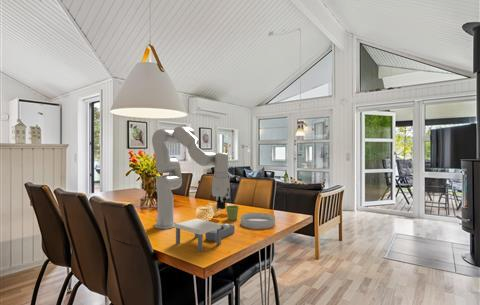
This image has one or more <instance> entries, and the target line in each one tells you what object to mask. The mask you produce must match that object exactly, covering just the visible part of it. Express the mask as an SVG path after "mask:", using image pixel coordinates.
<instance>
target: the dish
mask: <svg viewBox="0 0 480 305" xmlns="http://www.w3.org/2000/svg"><path fill="white" fill-rule="evenodd" d="M275 219H276V218H275V216H274V215H273V214H270V213H264V212H248V213H244V214H242V215H241V216H240V226H242V227H245V228H248V229H255V230H261V229H270V228H273V227H275V226H276V222H275V221H276V220H275Z"/></svg>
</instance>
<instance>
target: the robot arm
mask: <svg viewBox="0 0 480 305" xmlns="http://www.w3.org/2000/svg"><path fill="white" fill-rule="evenodd" d="M194 130H195V129H193V128H192V127H189V126H182V125H181V126H180V125H179V126H175V127H174V129H167V128H159V129H157V130H155V132H154V133H153V134H152V136H151V144H152V148H153V150H154V151H153V153H154V160H155V166H156V167H155V169H156V170H157V172H158V173H160V174H164V175H161V176H158V177H157V179H156V181H155V187H156V188H155V189H156V192H157V218H155V222H156V223H155V224H154V228H155V229H157V230H159V229H160V230H167V229H173V228H176V224H177V222H176V223H175V222H174V211H175V210H174V203H175V202H174V194H173V192H172V190H176V189H180V187H182V183H183V177H182V169H181V163H180V161H179V160H178V159H177V158H174V157H170V153H169V149H168V147H167V145H166V144H181V145H183V147H184V148H186V149H187V152H188V154H189V157H190V158H191V159H192V160H193V162H195V163H196V164H198V165H199V166H202V167H209V166H210V167H211V166H214V169H213V170H214V173H213V176H214V177H213V178H212V183H211V195H212V197H213V198H214V199H215V201H216V209H218V210H219V209H220V210H224V209H225V210H226V202H227V201H228V199H231V195H230V194H231V185H230V179H229V154H228V153H226V152H211V151H209V152H208V151H207V152H205V151H203V150H202V149H201V148H200V147H199V144H200V140H199V138H197V137H196V133H195V131H194Z"/></svg>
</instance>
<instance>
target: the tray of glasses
mask: <svg viewBox="0 0 480 305" xmlns="http://www.w3.org/2000/svg"><path fill="white" fill-rule="evenodd" d="M235 226H236V225H233V224H230V223H224V224H221V240H222V239H224V238H227V237H229V236H231V235H233V234H235ZM205 240H206V241H210V242H211V241H212V242H216V243H217V230H214V231H211V232H207V233H205Z"/></svg>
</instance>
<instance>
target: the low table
mask: <svg viewBox="0 0 480 305" xmlns="http://www.w3.org/2000/svg"><path fill="white" fill-rule="evenodd" d="M221 225H222V224H221V223H218V222H212V221H209V220H207V219H206V220H205V219H201V218H193V219H188V220H185V221H181V222H178V223H177V222H176V226H175V244H176V245H179V244H181V230H183V231H187V232H189V233H193V234H194V238H195V239H197V252H199V253H201V252H203V249H204V248H203V240H204V239H203V235H204V234H206V233H207V232H211V231H214V230H217V241H216V245H218V246H220V245H222V239H221Z"/></svg>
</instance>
